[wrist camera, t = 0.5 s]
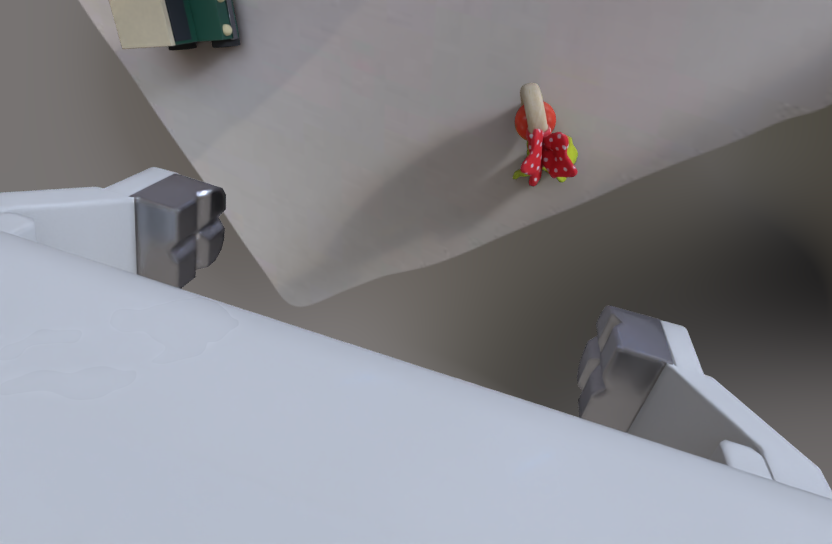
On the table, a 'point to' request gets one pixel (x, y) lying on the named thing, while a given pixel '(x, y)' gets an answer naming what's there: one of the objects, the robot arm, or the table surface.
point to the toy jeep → (175, 23)
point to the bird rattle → (542, 139)
